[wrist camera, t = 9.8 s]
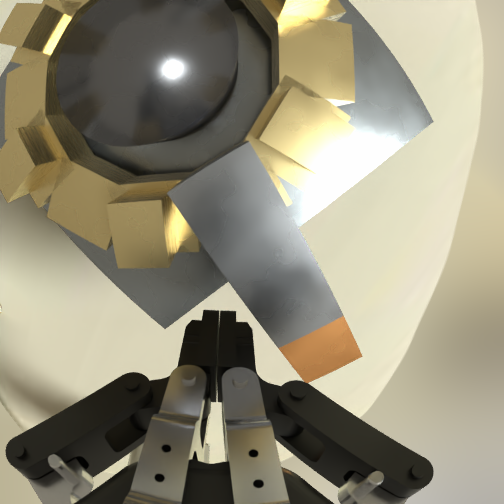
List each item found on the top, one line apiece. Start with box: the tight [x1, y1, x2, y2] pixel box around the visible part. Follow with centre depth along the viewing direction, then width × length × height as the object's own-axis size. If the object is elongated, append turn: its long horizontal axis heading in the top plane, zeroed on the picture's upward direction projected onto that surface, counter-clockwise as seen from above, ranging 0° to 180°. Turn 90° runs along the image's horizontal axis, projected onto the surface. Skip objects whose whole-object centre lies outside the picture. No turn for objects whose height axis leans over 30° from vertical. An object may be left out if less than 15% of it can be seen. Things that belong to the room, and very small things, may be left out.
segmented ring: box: [0, 0, 362, 383], centre depth 10 cm, size 16×24×4 cm
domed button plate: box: [0, 0, 433, 329], centre depth 11 cm, size 21×21×8 cm
